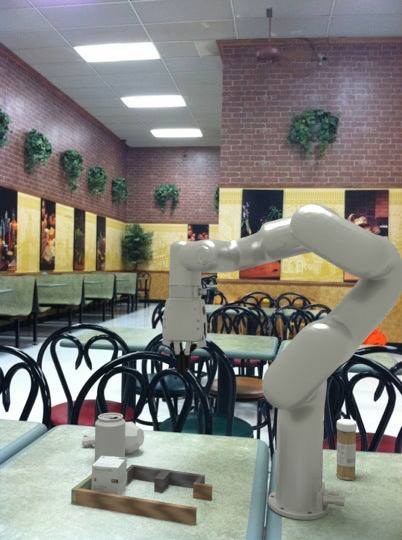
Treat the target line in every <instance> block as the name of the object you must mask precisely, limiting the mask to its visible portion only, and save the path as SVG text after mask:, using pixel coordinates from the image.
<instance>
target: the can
mask: <svg viewBox="0 0 402 540" xmlns="http://www.w3.org/2000/svg"><path fill="white" fill-rule="evenodd" d="M125 422H126V420H125V419H124V415H123V414H122V413H118V412H106V413H101V414H99V415H98V416H97V420H96V421H95V423H94V436H95V445H94V463H95V462H96V461H97V460H98V459H99V458H100V457H101V456H114V457H122V458H126V454H125Z"/></svg>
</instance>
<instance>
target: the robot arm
mask: <svg viewBox="0 0 402 540" xmlns="http://www.w3.org/2000/svg"><path fill="white" fill-rule="evenodd" d="M312 253H313V254H314V255H316V256H318V257H319V258H321V259H323V260H325V261H326V262H328V263H330V264H331V265H333V266H335V267H336V268H338V269H340V270H341V271H343V272H345V273H347V274H348V275H351V276H353V277H356V278H358V280H357V281H356V283H355V285H354V286H353V287H352V288H351V289H350V290H349V291H348V292H346V294H345V295H344V296H343V297H342V298H341V300H340V301H339V303H337V304H336V306H335V307H334V308H332V310H331V311H330V312H329V313H328V314H327V315H326V316H324V317H323V318H321V319H317V320H314V321H312V322H310V323H308V324H307V325H305V326H304V327H303V328H302V329H301V330H299V332H298V333H297V334H296V335H295V336H294V337H293V339H292V340H291V341H289V343H288V344H287V345H286V346H285V348H284V349H283V350H282V351H281V352H280V353H279V354H278V355H277V357H276V358H275V359H274V360H273V361H272V362H271V364H270V365H269V366H268V368H267V369H266V370H265V372H264V374H263V377H262V382H261V383H262V392H263V395H264V397H265V399H266V401H267V402H268V403H269V404H270V405H271V406H272V407H275V408H276V409H277V417H276V453H275V454H276V457H275V458H276V459H275V461H276V462H275V464H276V465H275V467H276V468H275V490H274V491H272V492H270V494H269V495H268V498H267V504H268V507H269V508H270V509H271V510H272V511H274V513H276V514H278V515H280V516H282V517H285V518H287V519H288V518H289V519H293V520H303V521H304V520H305V521H307V520H310V521H311V520H317V519H320V518H323V517H325V516H326V515H327V514H328V513H329V512H330V507H331V506H330V505H333V506H336V507H345V496H343V495H340V491H335V490H328V488H325V485H326V483H325V482H324V481H323V465H324V464H323V461H324V459H323V458H324V455H323V454H324V450H323V449H324V419H325V417H324V416H325V405H326V404H325V403H326V395H327V388H328V387H327V386H328V378H329V377H331V375H332V374H333V373H334V372H335V371H336V370H337V369H338V368H340V367H341V366H342V365H344V364H345V363H346V362H348V361H349V360H350V359H351V358H352V357H353V355H354V354H355V353H356V352H357V350H358V349H359V348H360V347H361V345H362V344H363V343H364V342H365V341H366V340H367V338H368V337H369V336H370V335H371V334H372V333H373V332H374V331H375V330H376V328H378V326H379V325H380V324H381V323H382V322H383V320H384V319H385V318H386V317H387V316H388V314H389V313H390V312H391V311H392V310H393V308H394V307H395V306H396V305H397V303H398V301H399V299H400V297H401V295H402V256H401V254H400V252H399V249H398V248H397V247H396V246H395V243H393V242H392V241H391V240H390V239H389V238H386V237H385V236H382V235H379V234H377V233H376V234H375V233H373V232H372V231H369V230H367V229H365V228H364V227H361V226H360V225H358V224H356V223H354V222H351V221H350V220H348V219H347V218H345V217H343V216H341V215H340V214H339V213H338V212H337V211H336V210H334V209H332V208H330V207H328V206H326V205H324V204H320V203H309V204H308V203H307V204H305V205H302V206H301V207H299V208H298V209H297V210H295V212H294V213H293V214H292V215H290V216H285V217H283V218H278V219H275V220H272V221H271V220H270V221H267V222H265V223H263V224H262V225H261V227H260V229H259V230H258V231H257V232H256V233H253V234H251V235H247V236H245V237H240V238H237V239H233V240H227V241H226V240H220V239H209V238H208V239H201V240H194V241H192V240H191V241H190V240H177V241H173V242H172V243H171V244H170V245H169V275H168V277H169V280H168V281H169V283H168V285H169V287H168V298H166V301H165V303H164V304H165V305H164V310H163V317H162V324H161V325H162V326H161V328H162V329H161V333H162V334H161V335H162V341H161V343H162V344H163V345H164V346H167V347H170V348H171V349H172V350H173V351H174V353H175V355H176V368H177V369H178V373H181V372H182V373H186V372H188V371H189V370H190V368H191V365H192V364H191V363H192V353H193V352H194V351H196V350H197V349H200V348H204V347H206V346H207V341H206V339H207V337H208V320H207V310H206V302H205V299H202V296H204V295H205V296H206V295H207V292H208V291H207V289H206V288H203V287H202V273H209V274H211V273H212V274H213V273H215V274H216V273H222V274H223V273H224V274H227V273H235V272H239V271H242V270H247V269H251V268H254V267H257V266H258V267H259V266H262V265H265V264H271V263H274V262H277V261H281V260H284V259H289V258H293V257H297V256H298V257H299V256H302V255H305V254H312ZM183 343H185V346H184V344H183Z"/></svg>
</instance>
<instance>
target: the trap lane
mask: <svg viewBox="0 0 402 540" xmlns="http://www.w3.org/2000/svg"><path fill="white" fill-rule="evenodd" d="M134 480H135V481H140V482H141V481H142V482H149V483H153V484H154V485H153V491H154V493H159V494H163V493H164V492H165V491H166V490H167V489H168V488H169V487H170V486H175V487H180V488H181V487H182V488H185V489H186V488H187V489H192V498H193V499H197V500H203V501H210V502H211V501H212V500H213V484H209V483H206V474H200V473H194V472H187V471H179V470H173V469H166V468H165V469H164V468H160V467H152V466H146V465H145V466H144V465H138V464H137V465H136V464H131V465H129V466H128V467H126V487H127V486H128V485H130V483H132V482H133V481H134ZM91 486H92V473H91V474H90V475H89V476H87V477H85V478H84V479H83V480H82V481H81V482H79V483H78V484H76V485H75V486H74V487H72V488H71V489H70V490H71V492H70V493H71V494H70V495H71V496H70V505H71V504H72V505H75V506H81V507H87V508H92V509H98V510H105V511H111V512H117V513H122V514H128V515H133V516H139V517H145V518H151V519H155V520H162V521H168V522H173V523H179V524H183V525H189V526H195V525H197V510H198V509H197V507H195V506H191V505H183V504H177V503H171V502H165V501H159V500H153V499H147V498H140V497H135V496H130V495H123V494H122V495H117V494H111V493H105V492H99V491H93V490H91Z"/></svg>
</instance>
